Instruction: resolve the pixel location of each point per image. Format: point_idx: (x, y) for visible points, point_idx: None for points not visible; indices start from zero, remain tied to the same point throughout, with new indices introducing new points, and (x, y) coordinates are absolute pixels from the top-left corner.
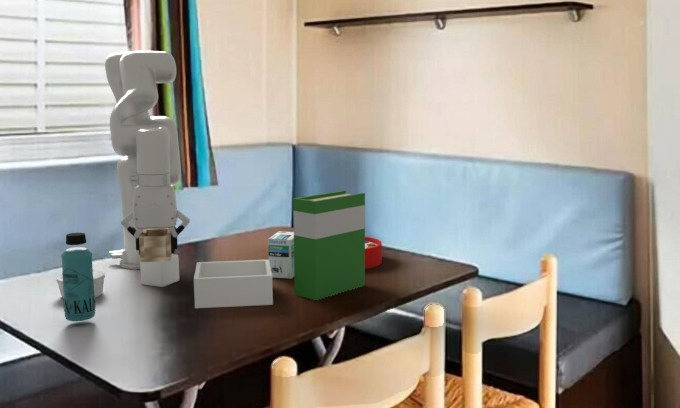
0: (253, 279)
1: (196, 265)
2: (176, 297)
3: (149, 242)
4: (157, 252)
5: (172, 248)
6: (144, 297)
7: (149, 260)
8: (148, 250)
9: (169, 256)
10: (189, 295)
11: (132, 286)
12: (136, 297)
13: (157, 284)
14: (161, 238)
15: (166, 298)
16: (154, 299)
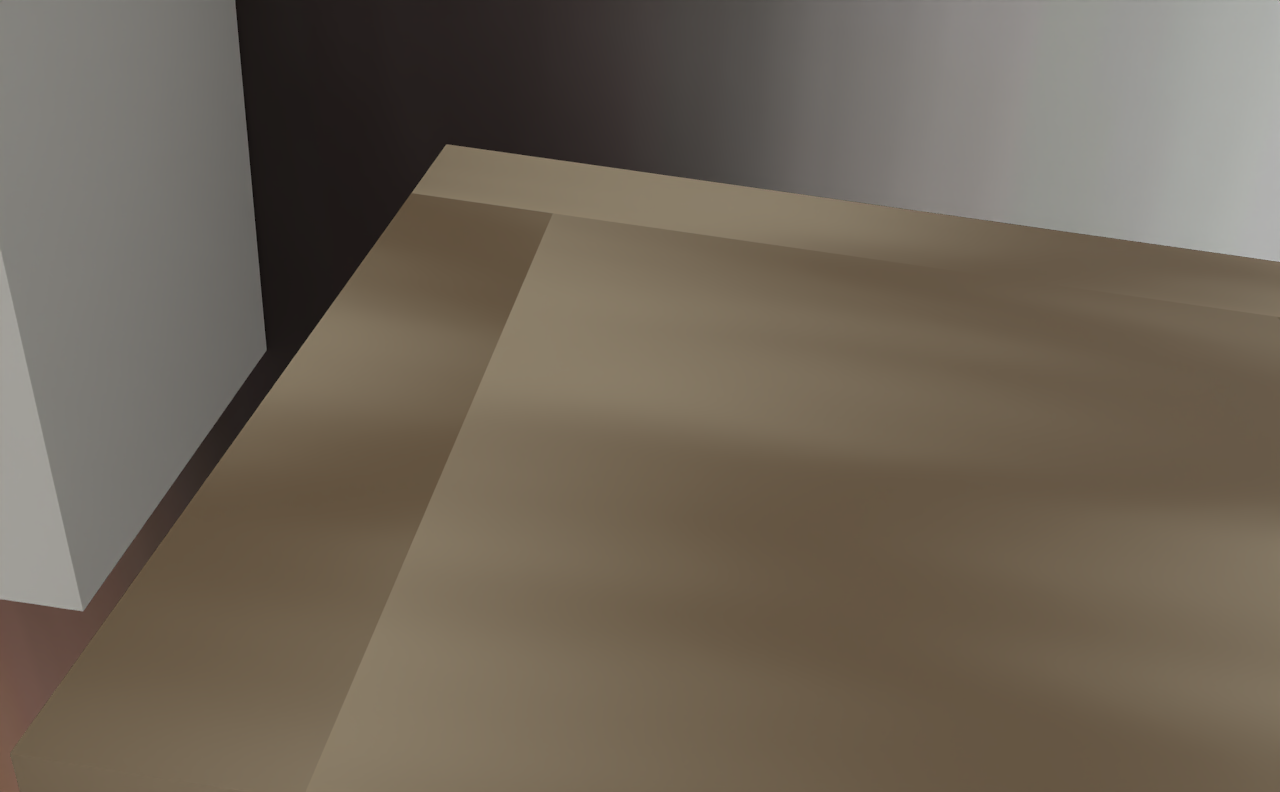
0: None
1: (38, 422)
2: (540, 54)
3: (1273, 691)
4: (837, 338)
5: None
6: (1007, 193)
7: (1088, 252)
8: (1208, 439)
9: (434, 206)
10: (353, 103)
11: None
12: (1119, 227)
13: None
14: (582, 750)
15: (691, 44)
16: (876, 44)
